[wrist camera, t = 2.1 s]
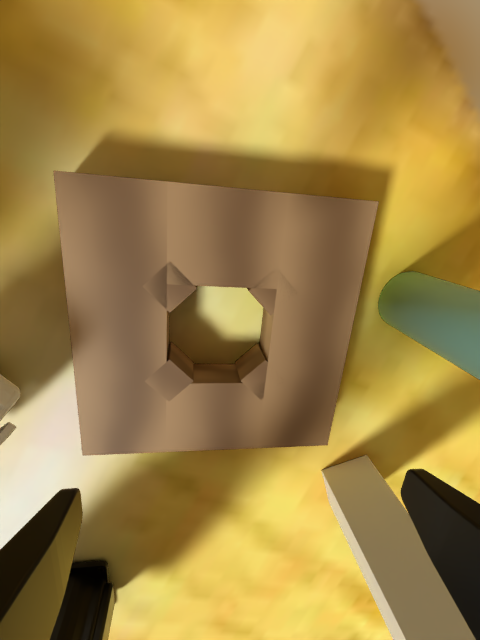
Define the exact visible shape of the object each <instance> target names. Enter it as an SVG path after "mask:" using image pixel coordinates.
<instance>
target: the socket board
mask: <svg viewBox="0 0 480 640" xmlns="http://www.w3.org/2000/svg"><path fill="white" fill-rule="evenodd" d="M54 181H55V191H56V201H57V210H58V220H59V230H60V239H61V249H62V259H63V269H64V278H65V288H66V298H67V308H68V317H69V327H70V337H71V346H72V356H73V366H74V376H75V385H76V395H77V405H78V415H79V424H80V434H81V444H82V453H83V455H106V454H130V453H153V452H177V451H201V450H224V449H248V448H272V447H295V446H319V445H328V440H329V435H330V431H331V426H332V421H333V416H334V412H335V407H336V402H337V397H338V393H339V388H340V383H341V378H342V374H343V369H344V364H345V359H346V355H347V350H348V345H349V341H350V336H351V331H352V326H353V322H354V317H355V312H356V307H357V303H358V298H359V293H360V288H361V284H362V279H363V274H364V269H365V265H366V260H367V255H368V250H369V246H370V241H371V236H372V231H373V227H374V222H375V217H376V212H377V208H378V203H379V202H378V201H367V200H357V199H346V198H336V197H325V196H315V195H304V194H294V193H283V192H273V191H262V190H251V189H241V188H230V187H220V186H209V185H199V184H188V183H178V182H167V181H157V180H146V179H136V178H125V177H115V176H104V175H94V174H83V173H73V172H62V171H54ZM197 286H219V287H242V288H247V289H248V290H249V292H250V293H251V294H252V295H253V296H254V297H255V298H256V300H257V301H258V302H259V303H260V304H261V305H262V306H263V307H264V309H263V318H262V327H261V336H260V345H259V344H258V343H257V344H256V345H254V346H253V347H252V348H251V349H250V350H248V351H247V352H246V353H245V354H244V355H243V356H241V357H240V358H239V359H238V360H237V361H235V364H193V361H192V360H191V359H190V358H189V357H187V356H186V355H185V354H184V353H183V352H182V351H181V350H180V349H179V348H178V347H177V346H175V345H174V344H173V343H172V342H171V343H170V344H169V312H171V311H173V310H174V309H175V308H176V307H177V306H178V305H179V304H180V303H181V302H183V301H184V300H185V299H186V298H187V297H188V296H189V295H190V294H192V293H193V292H194V291H195V290H196V289H197Z"/></svg>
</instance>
